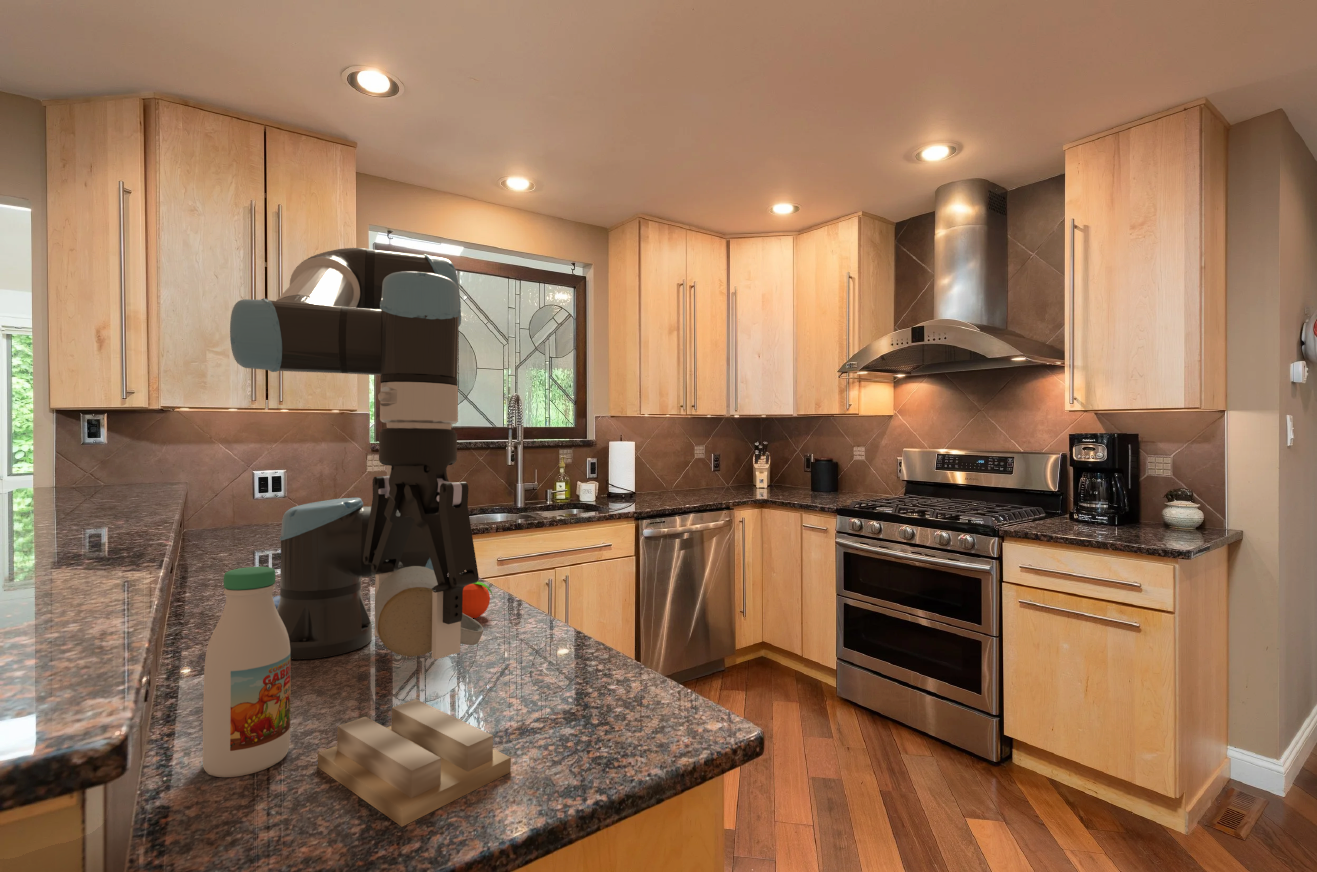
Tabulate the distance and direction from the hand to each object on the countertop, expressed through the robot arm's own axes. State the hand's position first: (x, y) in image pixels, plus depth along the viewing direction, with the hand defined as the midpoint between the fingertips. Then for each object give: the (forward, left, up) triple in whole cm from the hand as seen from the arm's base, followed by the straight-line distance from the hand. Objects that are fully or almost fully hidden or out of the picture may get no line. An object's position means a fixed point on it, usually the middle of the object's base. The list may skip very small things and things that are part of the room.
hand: (415, 643), depth 66 cm
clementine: (-41, +37, -13) cm, 57 cm away
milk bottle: (-15, -10, -13) cm, 22 cm away
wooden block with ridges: (0, 0, -13) cm, 13 cm away
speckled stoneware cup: (0, +1, -1) cm, 1 cm away
